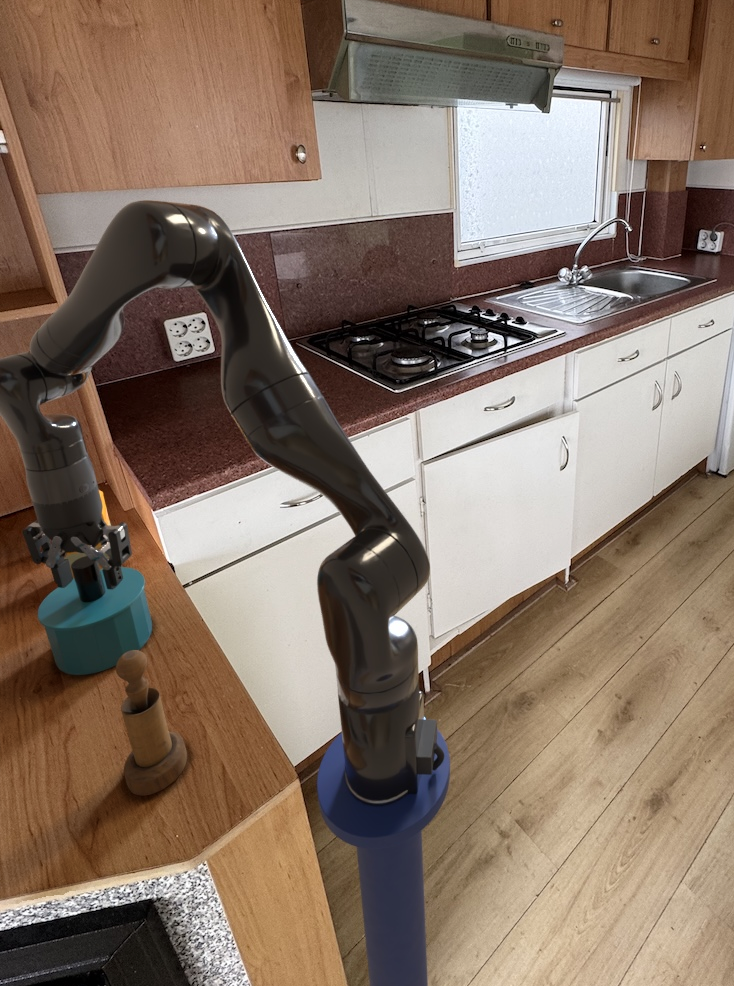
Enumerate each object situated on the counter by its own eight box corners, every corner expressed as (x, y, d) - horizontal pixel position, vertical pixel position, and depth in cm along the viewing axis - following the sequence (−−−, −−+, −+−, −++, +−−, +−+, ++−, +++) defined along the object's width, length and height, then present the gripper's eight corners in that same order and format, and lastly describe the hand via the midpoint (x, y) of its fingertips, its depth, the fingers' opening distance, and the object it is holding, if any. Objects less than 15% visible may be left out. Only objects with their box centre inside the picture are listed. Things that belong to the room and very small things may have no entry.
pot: (140, 602, 99) (131, 560, 96) (161, 644, 90) (151, 600, 87) (49, 640, 90) (36, 595, 88) (63, 690, 82) (48, 643, 79)
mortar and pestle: (134, 752, 73) (104, 640, 67) (191, 737, 75) (167, 627, 69) (120, 803, 67) (87, 685, 61) (182, 786, 69) (156, 670, 63)
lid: (133, 561, 96) (125, 525, 94) (156, 603, 87) (147, 564, 85) (33, 598, 88) (21, 559, 85) (46, 649, 79) (33, 607, 76)
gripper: (131, 476, 84) (152, 570, 90) (35, 473, 85) (62, 567, 90) (96, 504, 77) (121, 604, 83) (-9, 500, 78) (23, 600, 83)
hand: (90, 584), depth 87 cm, fingers open, 7 cm apart
